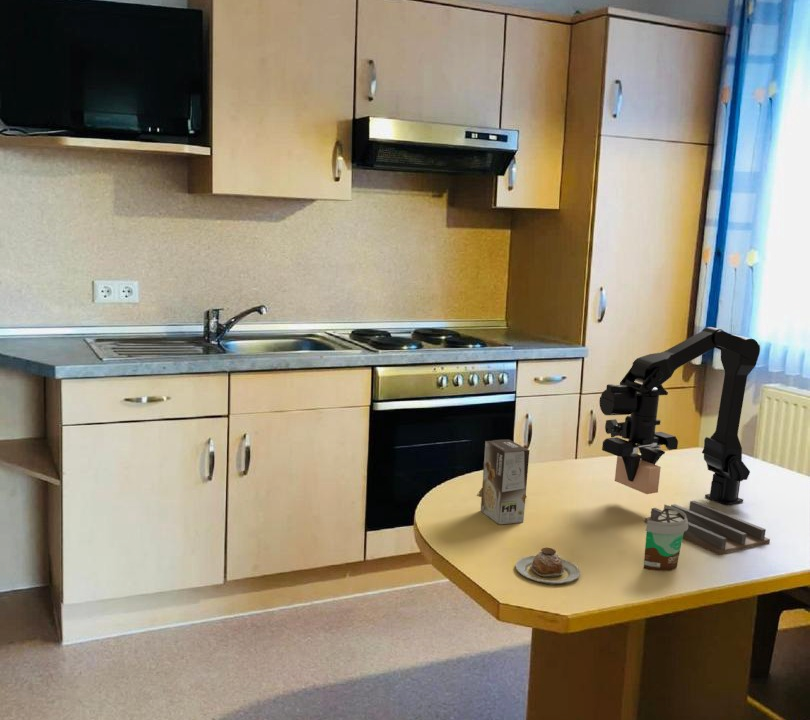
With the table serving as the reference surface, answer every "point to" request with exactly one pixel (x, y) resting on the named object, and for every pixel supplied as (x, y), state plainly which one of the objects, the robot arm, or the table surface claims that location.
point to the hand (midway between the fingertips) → (636, 480)
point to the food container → (664, 539)
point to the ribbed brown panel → (717, 529)
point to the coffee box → (504, 481)
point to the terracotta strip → (639, 476)
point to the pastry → (548, 567)
